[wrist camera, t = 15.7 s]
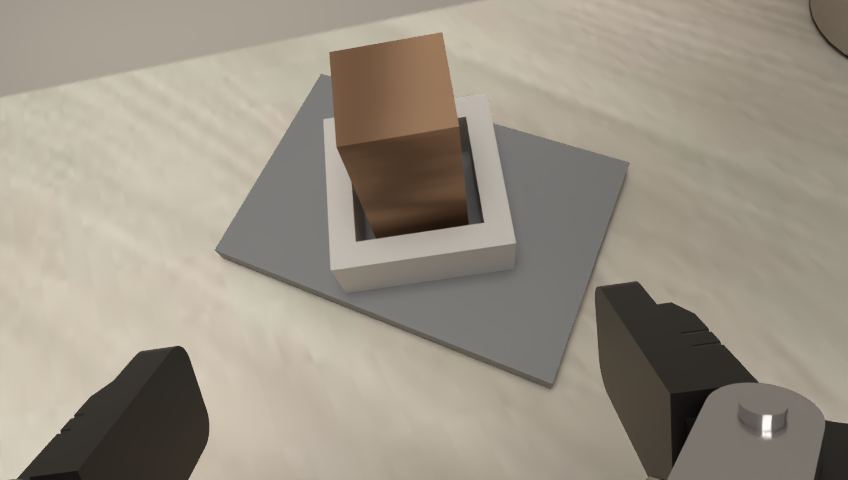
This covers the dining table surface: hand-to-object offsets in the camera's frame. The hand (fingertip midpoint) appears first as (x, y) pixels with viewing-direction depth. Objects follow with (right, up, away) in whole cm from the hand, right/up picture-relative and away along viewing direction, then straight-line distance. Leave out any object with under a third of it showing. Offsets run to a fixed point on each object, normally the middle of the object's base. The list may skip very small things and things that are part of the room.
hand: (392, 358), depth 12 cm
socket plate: (0, +4, +20) cm, 20 cm away
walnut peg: (0, +4, +19) cm, 19 cm away
